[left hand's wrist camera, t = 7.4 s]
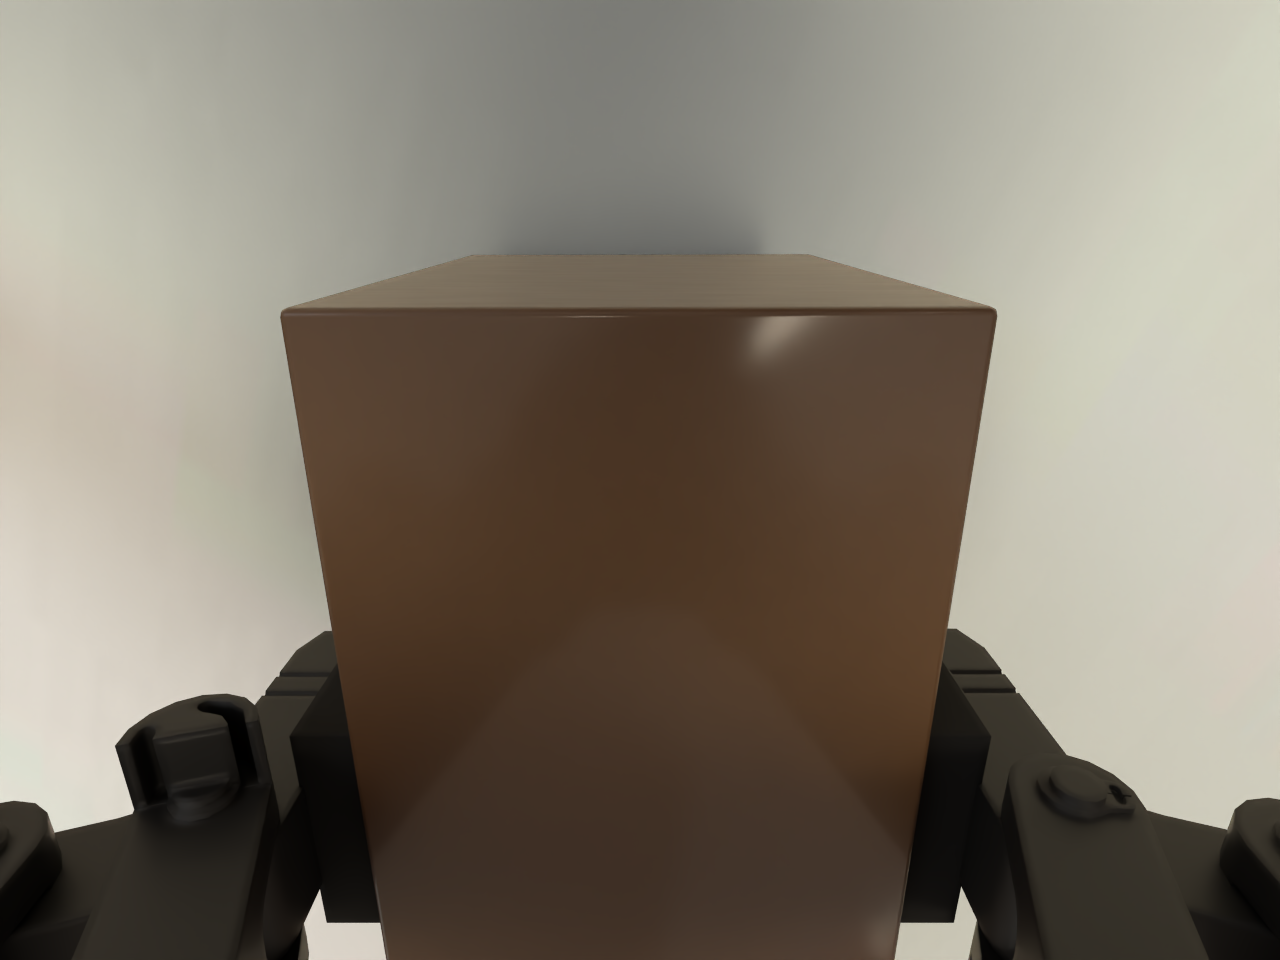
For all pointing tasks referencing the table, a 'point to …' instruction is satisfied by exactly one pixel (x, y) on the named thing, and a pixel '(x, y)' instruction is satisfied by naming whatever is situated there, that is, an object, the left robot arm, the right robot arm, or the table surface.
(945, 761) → the left robot arm
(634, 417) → the beam
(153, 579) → the table surface
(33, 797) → the table surface
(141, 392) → the table surface
